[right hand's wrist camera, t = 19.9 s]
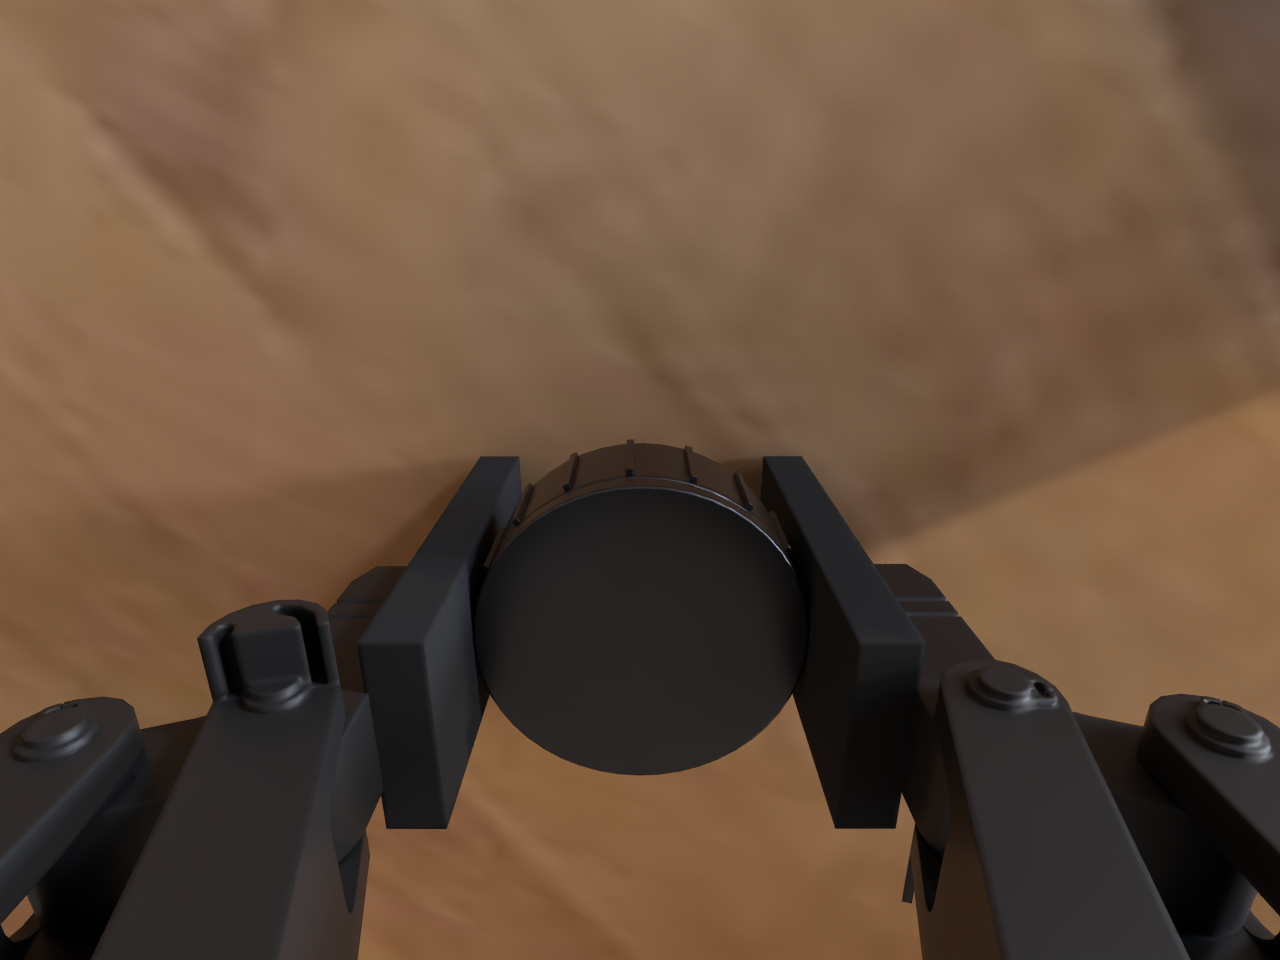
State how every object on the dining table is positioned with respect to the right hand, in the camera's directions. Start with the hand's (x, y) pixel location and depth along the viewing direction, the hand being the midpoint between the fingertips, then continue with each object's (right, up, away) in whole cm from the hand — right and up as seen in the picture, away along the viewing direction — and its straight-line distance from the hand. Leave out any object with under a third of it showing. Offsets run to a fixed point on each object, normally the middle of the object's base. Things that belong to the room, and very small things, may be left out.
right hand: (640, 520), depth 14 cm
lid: (0, -1, -4) cm, 4 cm away
